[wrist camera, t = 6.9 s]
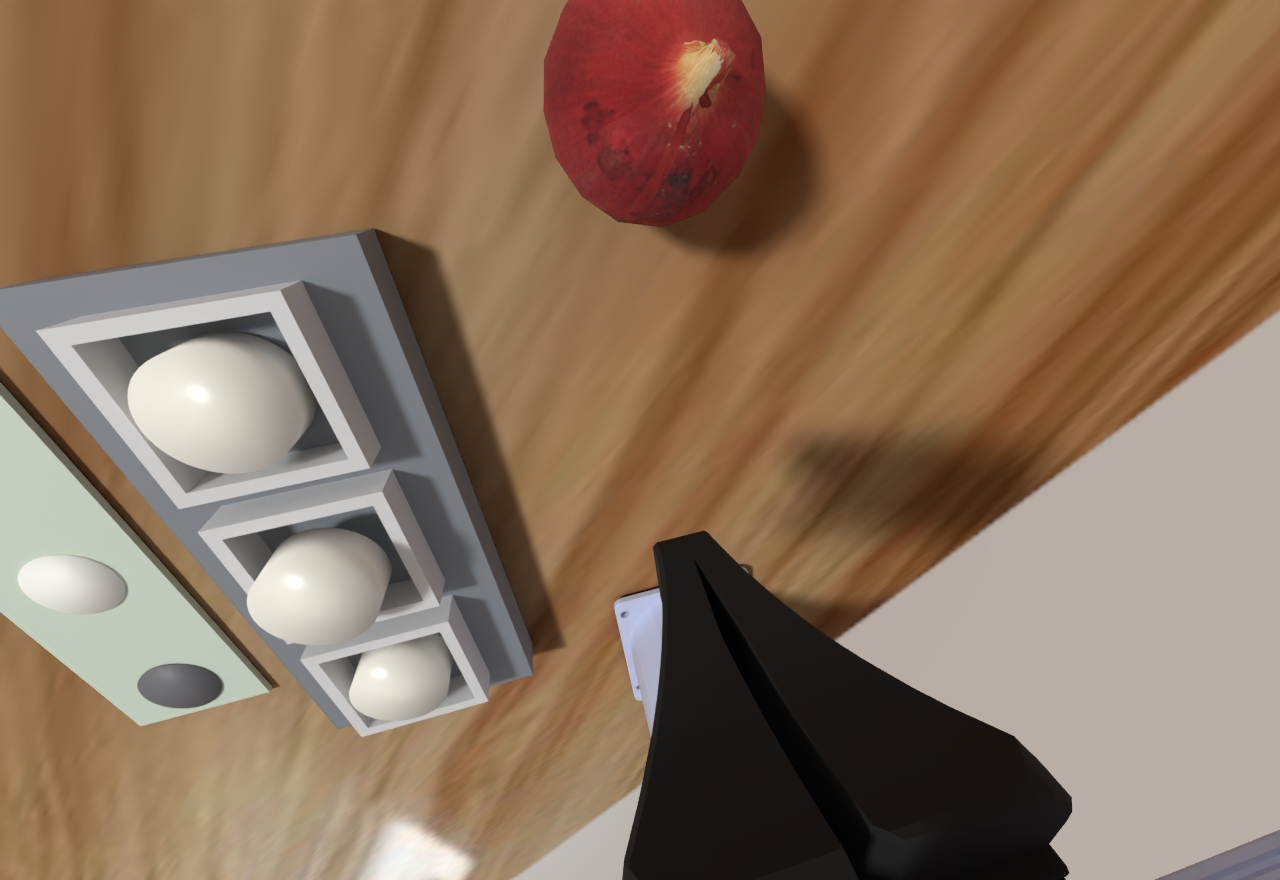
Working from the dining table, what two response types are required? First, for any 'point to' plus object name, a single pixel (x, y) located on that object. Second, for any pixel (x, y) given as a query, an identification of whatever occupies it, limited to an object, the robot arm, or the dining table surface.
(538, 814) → the dining table surface
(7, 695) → the dining table surface
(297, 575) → the button middle
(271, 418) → the button near
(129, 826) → the dining table surface
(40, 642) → the card
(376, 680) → the button far
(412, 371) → the button board
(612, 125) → the onion
